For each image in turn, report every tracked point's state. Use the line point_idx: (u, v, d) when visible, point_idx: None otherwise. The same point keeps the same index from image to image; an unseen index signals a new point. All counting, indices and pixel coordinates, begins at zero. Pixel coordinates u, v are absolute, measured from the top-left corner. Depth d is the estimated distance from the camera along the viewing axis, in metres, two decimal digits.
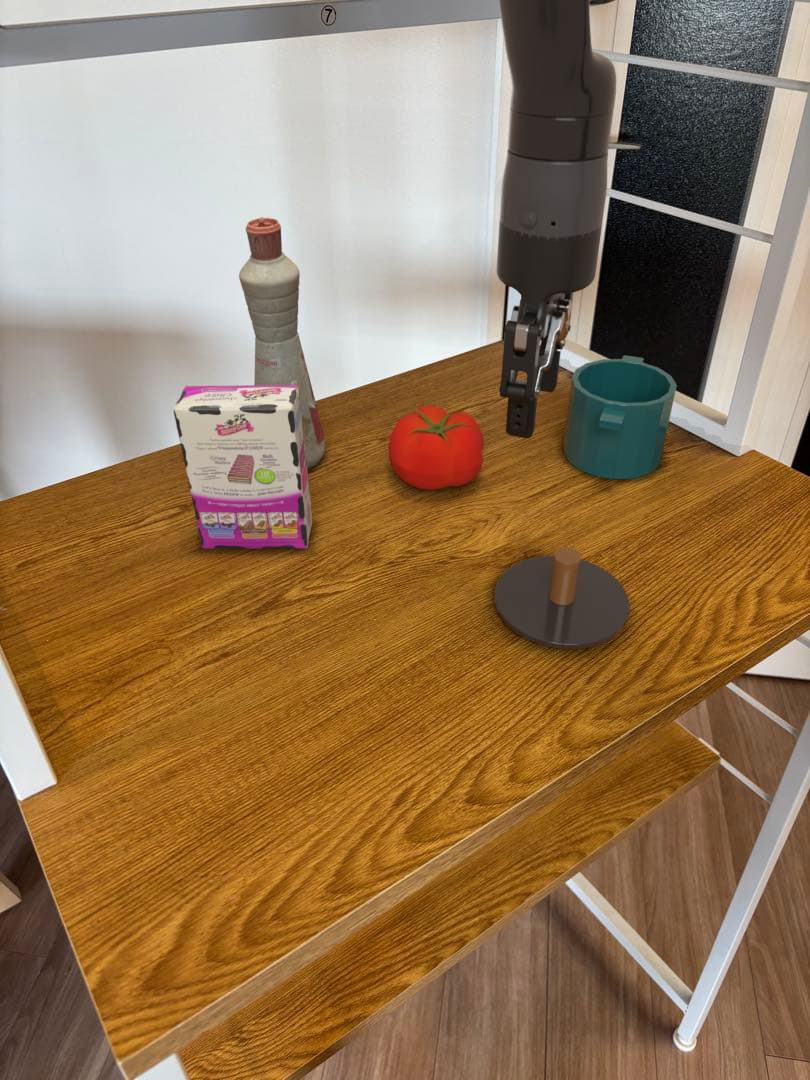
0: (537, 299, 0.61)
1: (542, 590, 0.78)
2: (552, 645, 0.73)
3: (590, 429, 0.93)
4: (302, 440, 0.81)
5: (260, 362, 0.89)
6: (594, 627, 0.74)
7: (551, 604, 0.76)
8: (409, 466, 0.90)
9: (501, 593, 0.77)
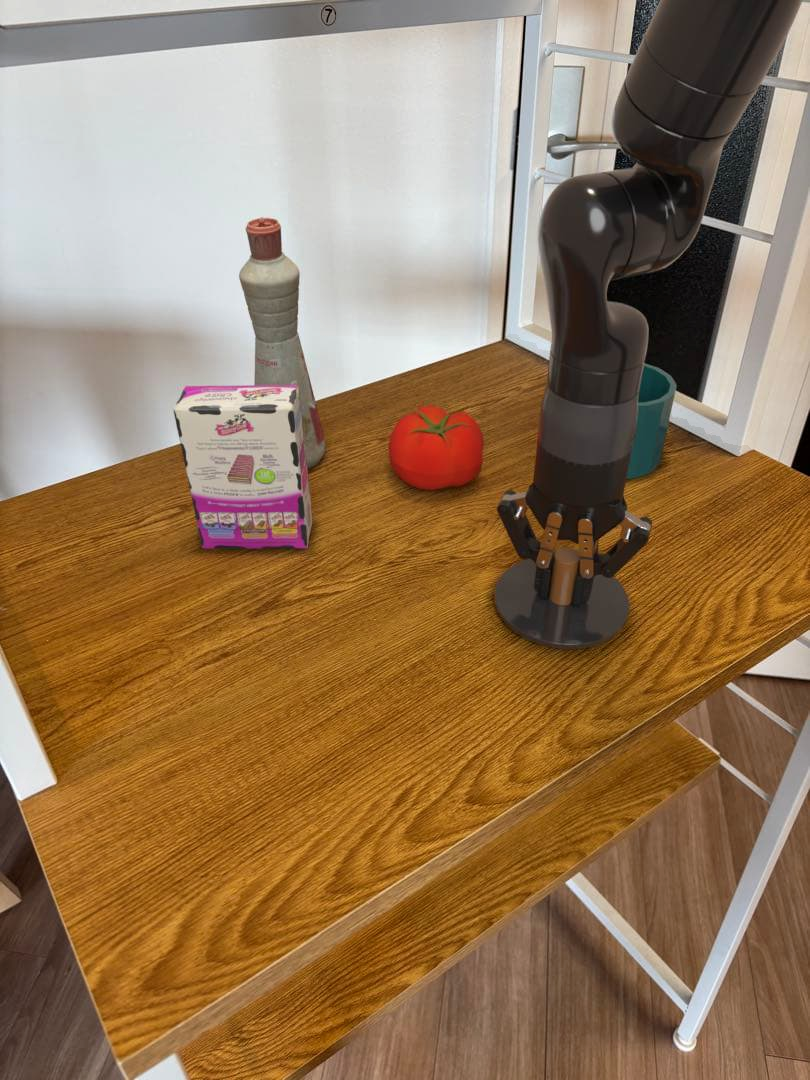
0: None
1: None
2: (552, 645, 0.73)
3: None
4: (302, 440, 0.81)
5: (260, 362, 0.89)
6: (594, 627, 0.74)
7: (551, 604, 0.76)
8: (409, 465, 0.90)
9: (501, 593, 0.77)
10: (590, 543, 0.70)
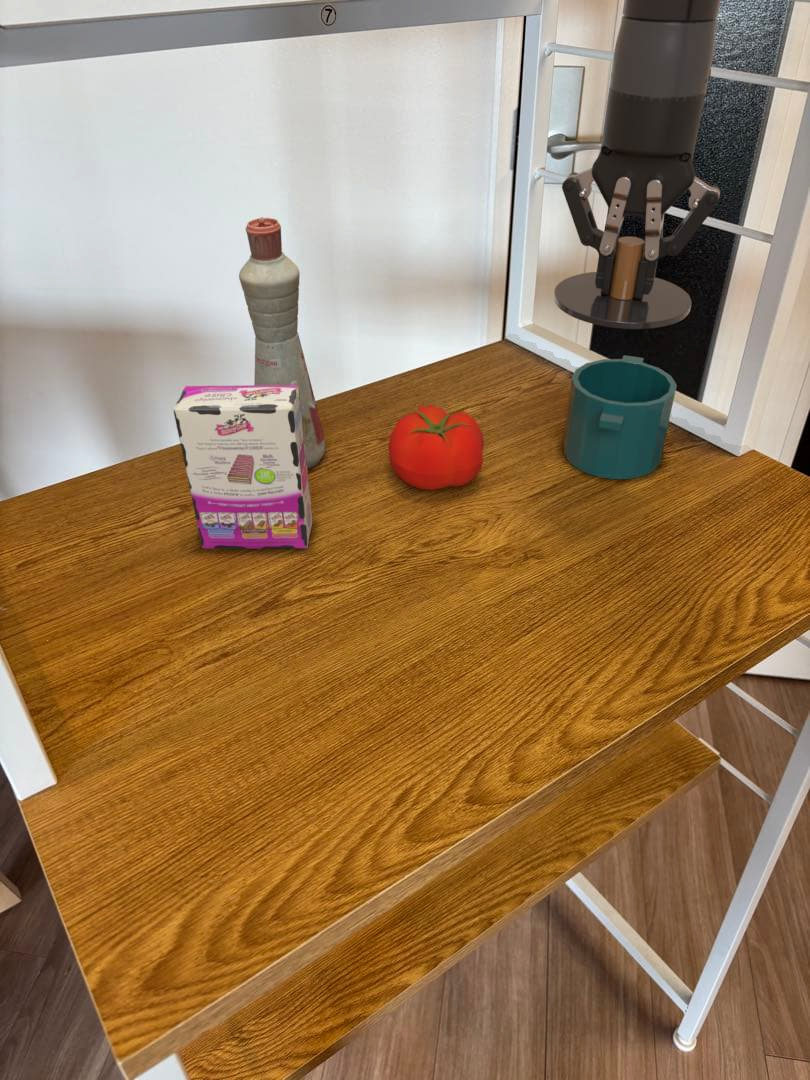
0: None
1: None
2: (617, 325, 0.72)
3: (590, 429, 0.93)
4: (302, 440, 0.81)
5: (260, 362, 0.89)
6: (658, 312, 0.73)
7: (612, 299, 0.76)
8: (409, 465, 0.90)
9: (561, 293, 0.77)
10: (658, 212, 0.70)
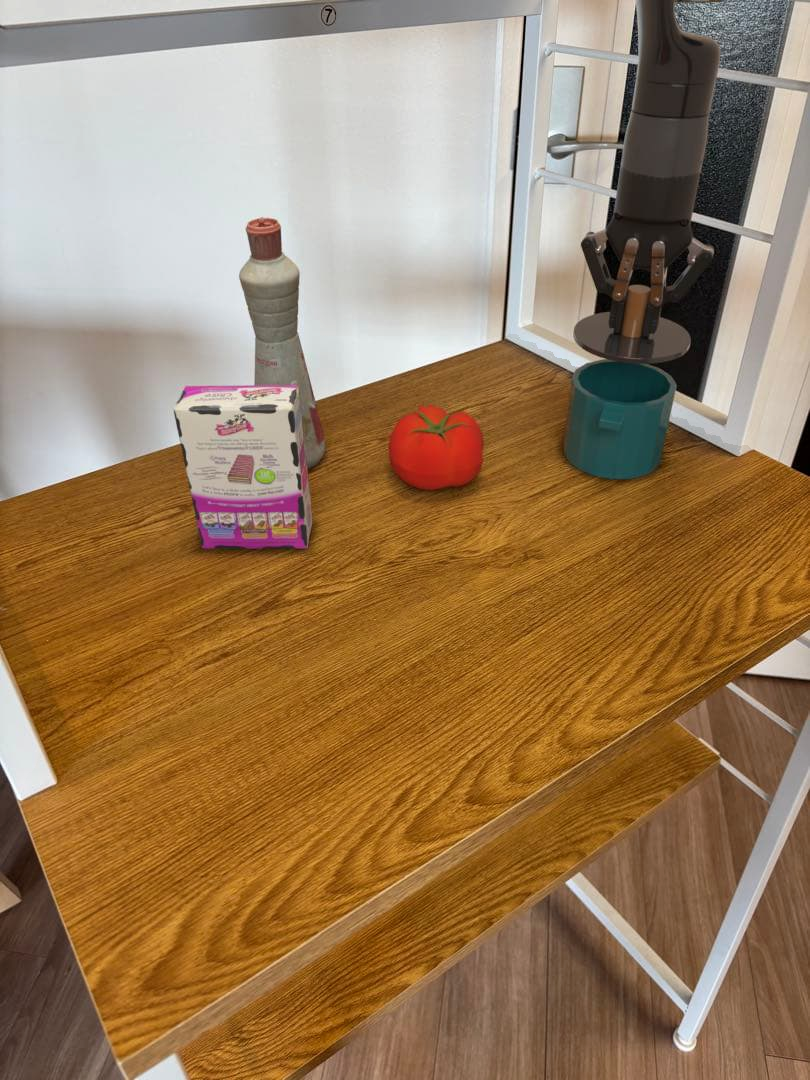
0: None
1: None
2: (627, 360, 0.85)
3: (590, 429, 0.93)
4: (302, 440, 0.81)
5: (260, 362, 0.89)
6: (662, 349, 0.87)
7: (623, 337, 0.89)
8: (409, 465, 0.90)
9: (580, 331, 0.90)
10: (661, 266, 0.83)
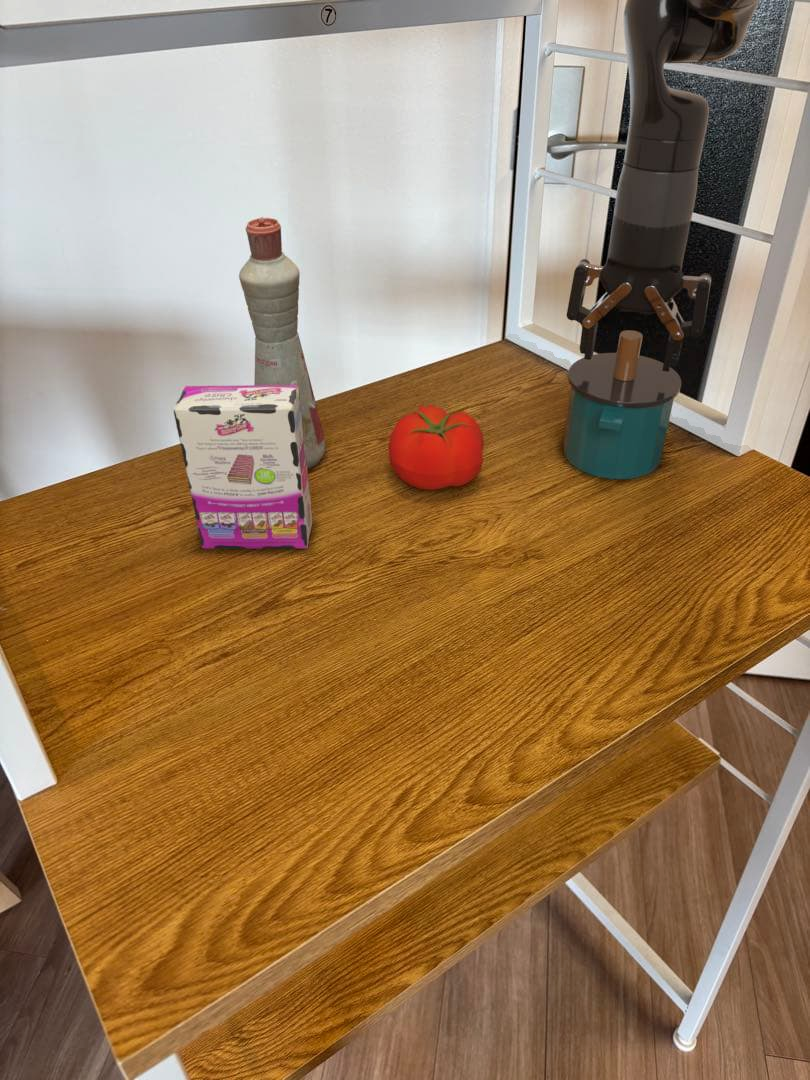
0: (607, 258, 0.86)
1: (607, 372, 0.94)
2: (620, 404, 0.89)
3: (590, 429, 0.93)
4: (302, 440, 0.81)
5: (260, 362, 0.89)
6: (653, 393, 0.90)
7: (616, 380, 0.92)
8: (409, 465, 0.90)
9: (574, 374, 0.93)
10: (664, 305, 0.85)
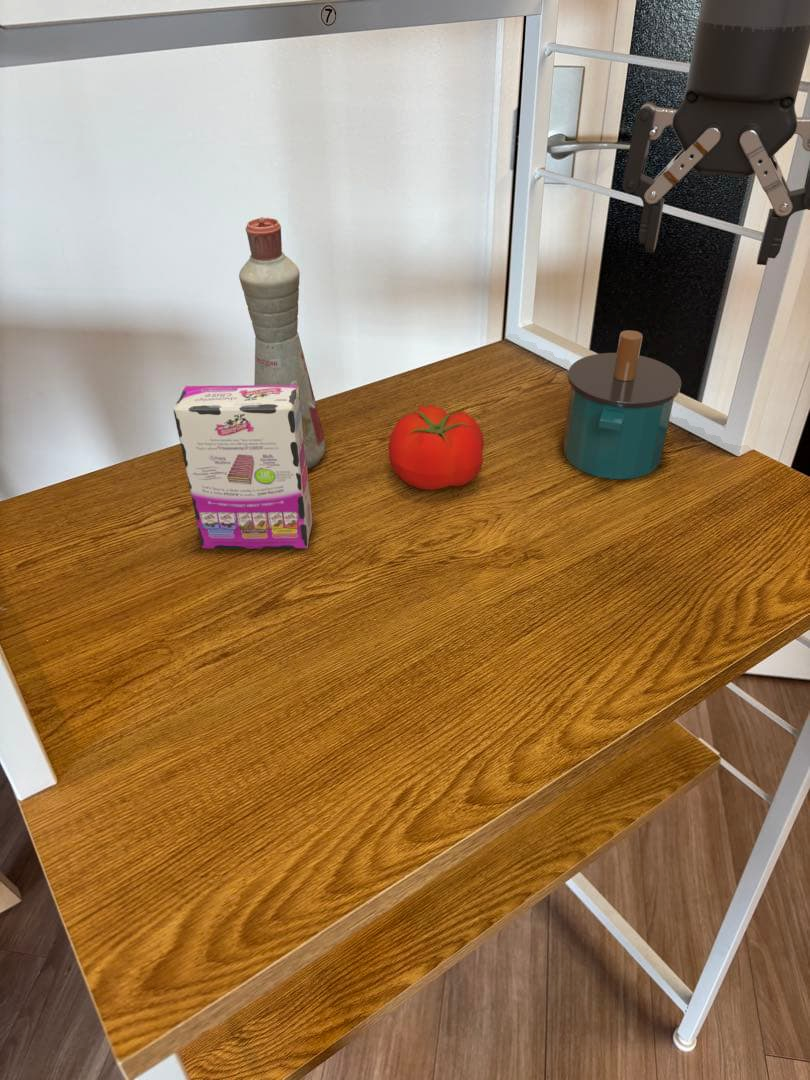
0: None
1: (607, 372, 0.94)
2: (620, 404, 0.89)
3: (590, 429, 0.93)
4: (302, 440, 0.81)
5: (260, 362, 0.89)
6: (653, 393, 0.90)
7: (616, 380, 0.92)
8: (409, 465, 0.90)
9: (574, 374, 0.93)
10: (767, 161, 0.59)
